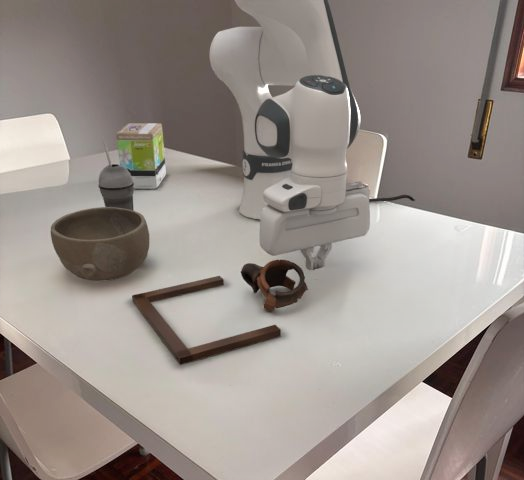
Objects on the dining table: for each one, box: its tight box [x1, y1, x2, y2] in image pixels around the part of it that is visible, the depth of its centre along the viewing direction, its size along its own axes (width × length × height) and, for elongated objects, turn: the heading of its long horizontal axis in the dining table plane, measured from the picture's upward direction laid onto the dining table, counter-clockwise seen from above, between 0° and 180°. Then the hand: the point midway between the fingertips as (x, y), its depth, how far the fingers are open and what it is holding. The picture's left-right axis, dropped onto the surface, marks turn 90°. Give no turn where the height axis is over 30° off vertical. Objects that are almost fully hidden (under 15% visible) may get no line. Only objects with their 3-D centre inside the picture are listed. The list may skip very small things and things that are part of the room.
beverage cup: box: [98, 141, 135, 211], centre depth 118 cm, size 7×7×20 cm
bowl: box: [50, 206, 150, 282], centre depth 105 cm, size 17×18×10 cm
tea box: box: [115, 122, 167, 190], centre depth 156 cm, size 15×10×15 cm, turn 179°
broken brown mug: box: [240, 259, 309, 313], centre depth 95 cm, size 12×10×8 cm
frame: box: [131, 275, 282, 366], centre depth 91 cm, size 16×23×1 cm
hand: (314, 268), depth 98 cm, fingers closed
